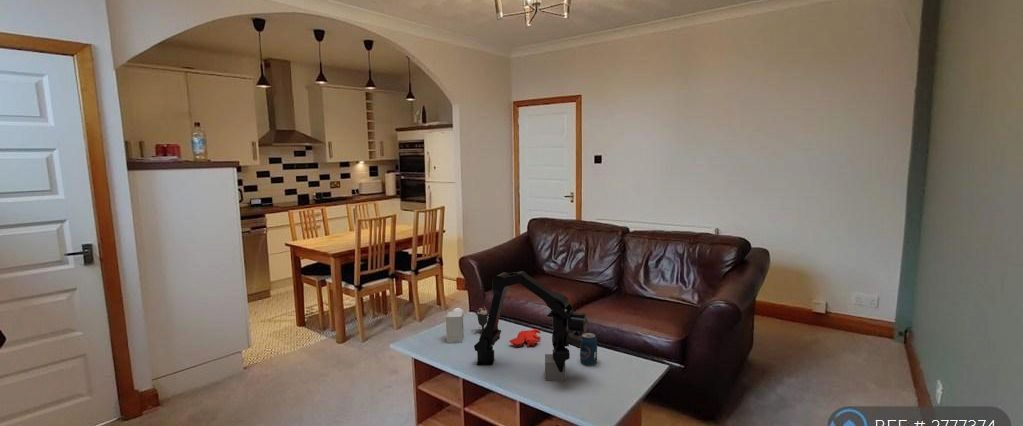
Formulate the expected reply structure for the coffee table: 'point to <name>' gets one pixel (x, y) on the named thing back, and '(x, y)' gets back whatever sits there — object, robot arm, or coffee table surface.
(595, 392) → the coffee table surface
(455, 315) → the supplement box
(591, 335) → the soda can
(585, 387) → the coffee table surface
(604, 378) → the coffee table surface
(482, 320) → the sundae
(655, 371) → the coffee table surface
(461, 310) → the lightbulb
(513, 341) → the animal figurine
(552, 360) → the grey cube
